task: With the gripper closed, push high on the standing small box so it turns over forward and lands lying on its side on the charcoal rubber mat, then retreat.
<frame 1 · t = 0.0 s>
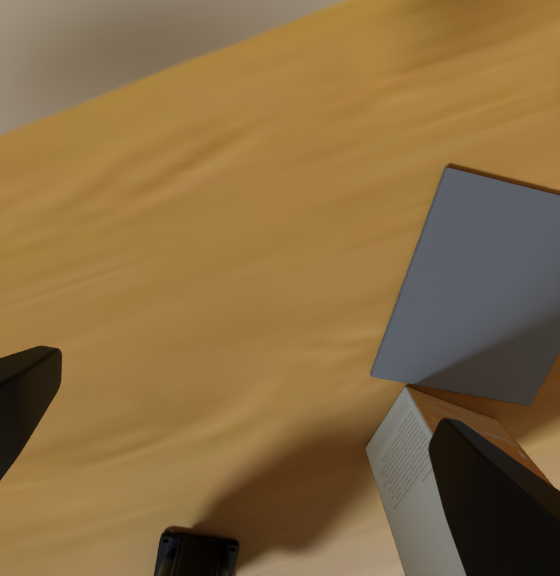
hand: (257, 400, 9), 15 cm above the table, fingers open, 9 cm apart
small box: (428, 430, 28), on the table
mat: (491, 299, 24), on the table
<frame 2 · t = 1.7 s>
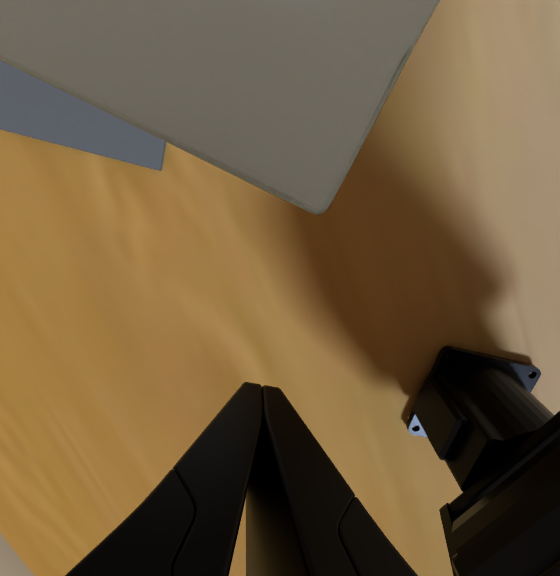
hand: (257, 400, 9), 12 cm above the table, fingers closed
small box: (267, 61, 17), on the table
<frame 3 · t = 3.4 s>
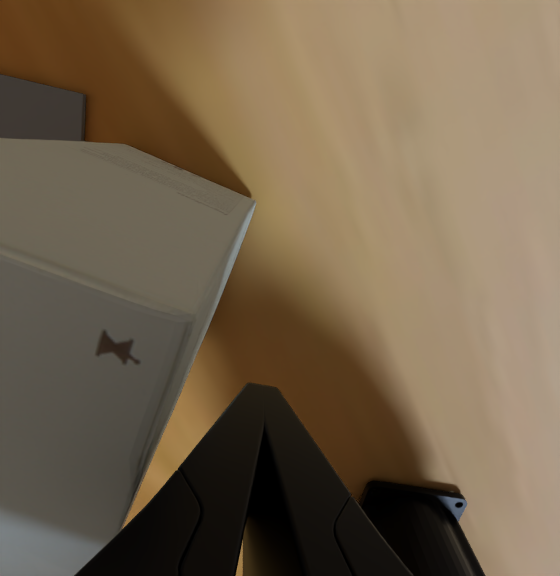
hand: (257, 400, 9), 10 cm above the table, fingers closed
small box: (167, 251, 18), on the table, touching gripper
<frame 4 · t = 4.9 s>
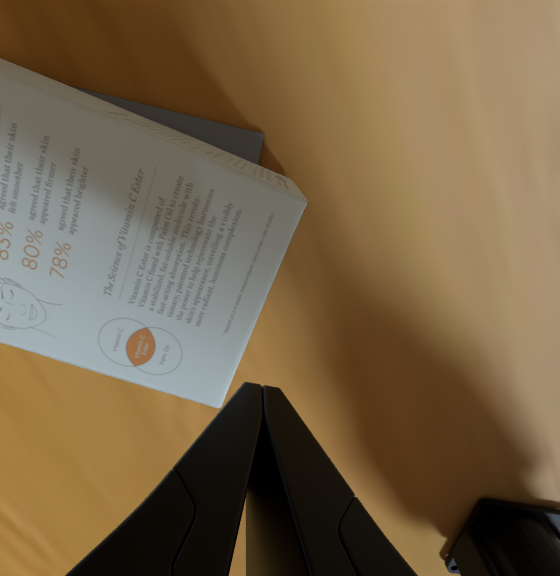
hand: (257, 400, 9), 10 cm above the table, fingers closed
small box: (267, 286, 15), point 3 cm above the table, touching mat
mat: (89, 233, 17), on the table
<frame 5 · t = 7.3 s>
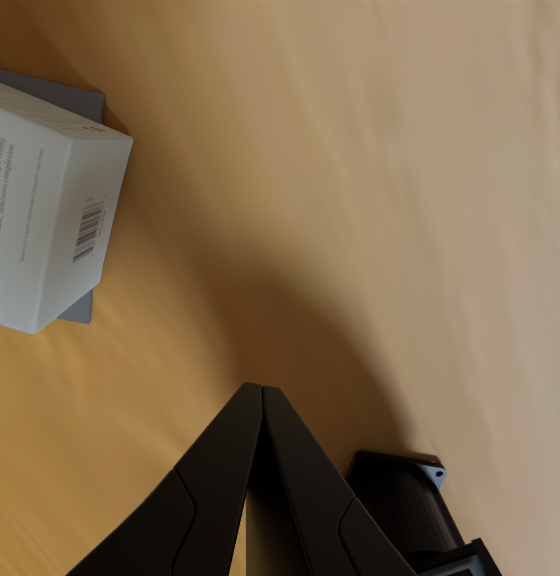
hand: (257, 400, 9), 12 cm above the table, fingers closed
small box: (96, 230, 16), point 3 cm above the table, touching mat
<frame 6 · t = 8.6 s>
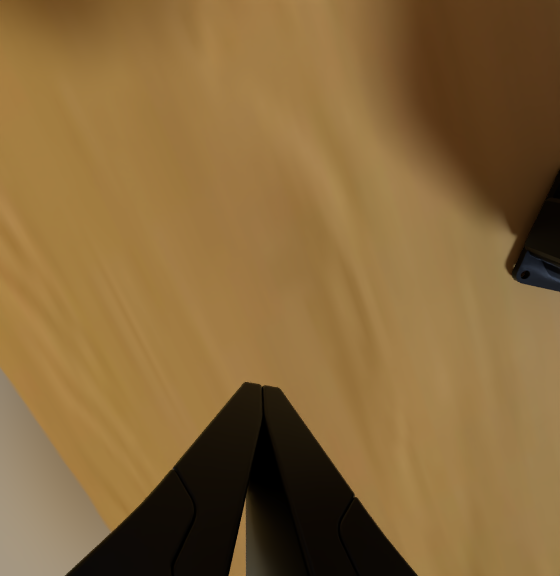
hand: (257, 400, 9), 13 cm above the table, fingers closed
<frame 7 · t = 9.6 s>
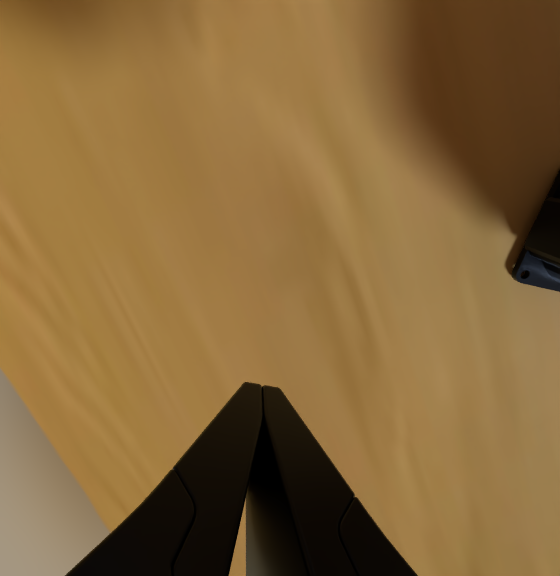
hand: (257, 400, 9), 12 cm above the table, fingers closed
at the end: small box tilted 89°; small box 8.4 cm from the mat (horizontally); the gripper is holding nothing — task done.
